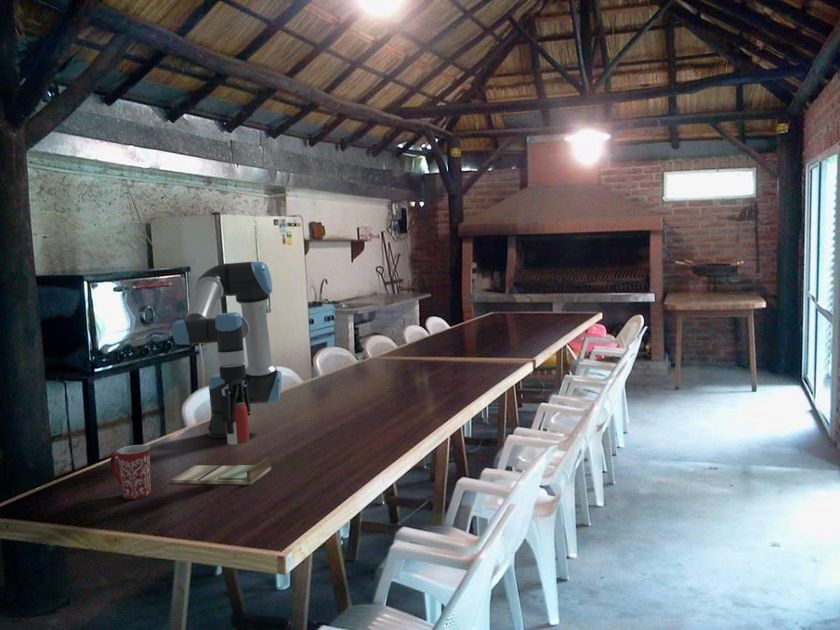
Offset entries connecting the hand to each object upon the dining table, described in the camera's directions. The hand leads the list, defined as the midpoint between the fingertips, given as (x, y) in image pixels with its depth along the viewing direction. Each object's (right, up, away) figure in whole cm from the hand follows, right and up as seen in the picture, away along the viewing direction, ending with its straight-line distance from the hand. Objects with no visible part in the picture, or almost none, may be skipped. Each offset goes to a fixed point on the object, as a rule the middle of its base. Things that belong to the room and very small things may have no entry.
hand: (238, 440), depth 219 cm
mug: (-28, -14, -9) cm, 33 cm away
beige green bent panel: (-6, -11, +3) cm, 13 cm away
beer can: (0, -1, 0) cm, 1 cm away
